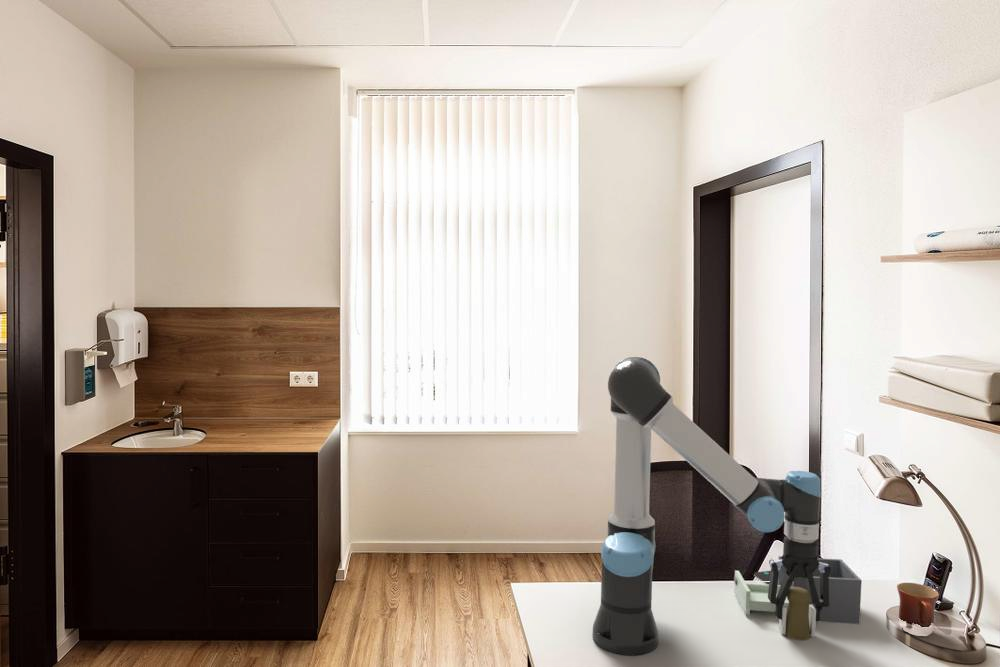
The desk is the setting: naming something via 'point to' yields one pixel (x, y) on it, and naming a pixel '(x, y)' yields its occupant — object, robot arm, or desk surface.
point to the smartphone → (763, 576)
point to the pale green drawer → (754, 595)
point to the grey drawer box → (834, 592)
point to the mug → (917, 603)
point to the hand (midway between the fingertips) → (796, 632)
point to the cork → (797, 614)
